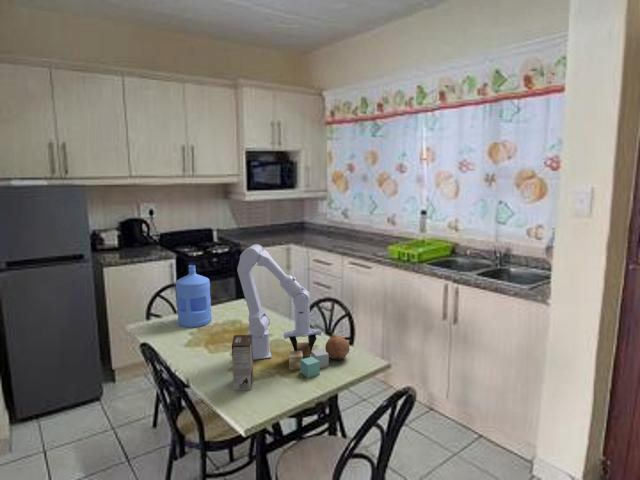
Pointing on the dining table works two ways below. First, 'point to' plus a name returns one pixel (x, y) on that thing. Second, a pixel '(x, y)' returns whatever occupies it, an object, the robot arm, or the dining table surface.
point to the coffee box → (242, 362)
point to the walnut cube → (304, 349)
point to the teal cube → (310, 367)
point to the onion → (337, 347)
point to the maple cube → (295, 359)
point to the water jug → (193, 300)
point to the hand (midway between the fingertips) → (302, 353)
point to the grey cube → (321, 357)
